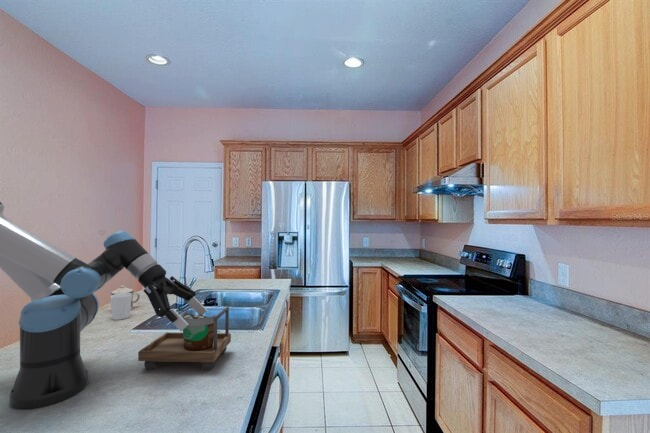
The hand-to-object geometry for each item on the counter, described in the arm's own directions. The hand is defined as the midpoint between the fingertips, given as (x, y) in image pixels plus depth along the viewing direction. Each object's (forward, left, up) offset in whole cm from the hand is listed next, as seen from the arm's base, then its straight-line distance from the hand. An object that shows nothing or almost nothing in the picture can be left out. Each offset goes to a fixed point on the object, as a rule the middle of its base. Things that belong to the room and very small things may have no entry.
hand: (195, 320), depth 97 cm
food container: (-1, 0, -8) cm, 9 cm away
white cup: (+40, +51, -13) cm, 66 cm away
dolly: (0, +2, -13) cm, 13 cm away
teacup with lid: (+52, +57, -13) cm, 78 cm away
